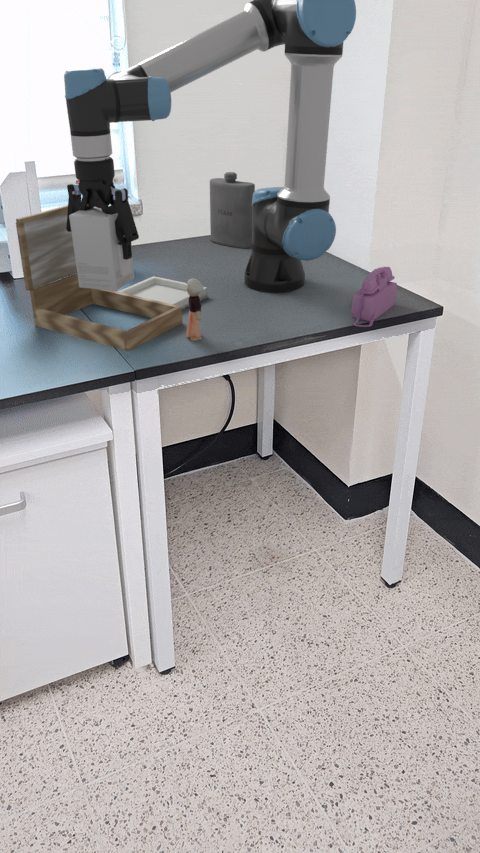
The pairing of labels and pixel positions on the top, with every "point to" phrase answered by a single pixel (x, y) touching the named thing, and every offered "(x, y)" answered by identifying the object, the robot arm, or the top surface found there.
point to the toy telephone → (374, 296)
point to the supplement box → (97, 250)
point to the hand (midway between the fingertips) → (106, 270)
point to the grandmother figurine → (194, 309)
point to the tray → (163, 291)
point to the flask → (231, 211)
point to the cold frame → (55, 259)
